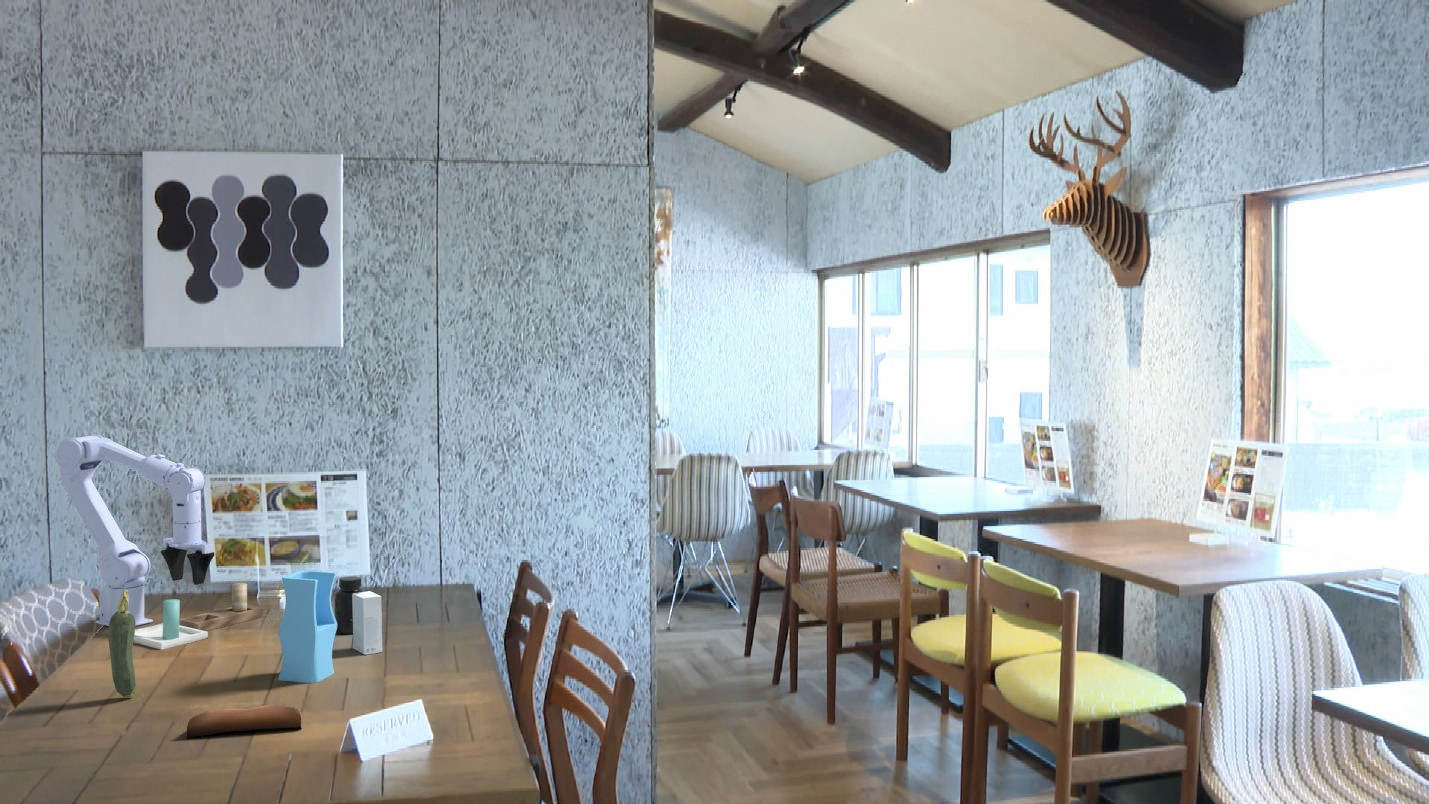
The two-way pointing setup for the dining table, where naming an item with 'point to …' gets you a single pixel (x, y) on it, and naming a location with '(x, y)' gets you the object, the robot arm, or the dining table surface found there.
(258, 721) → the sunglasses case
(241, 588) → the birch dowel
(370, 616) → the skincare box
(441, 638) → the dining table surface
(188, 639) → the tray
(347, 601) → the supplement bottle
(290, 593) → the vase
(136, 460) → the robot arm
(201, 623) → the rack
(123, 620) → the vegetable
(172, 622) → the teal dowel
